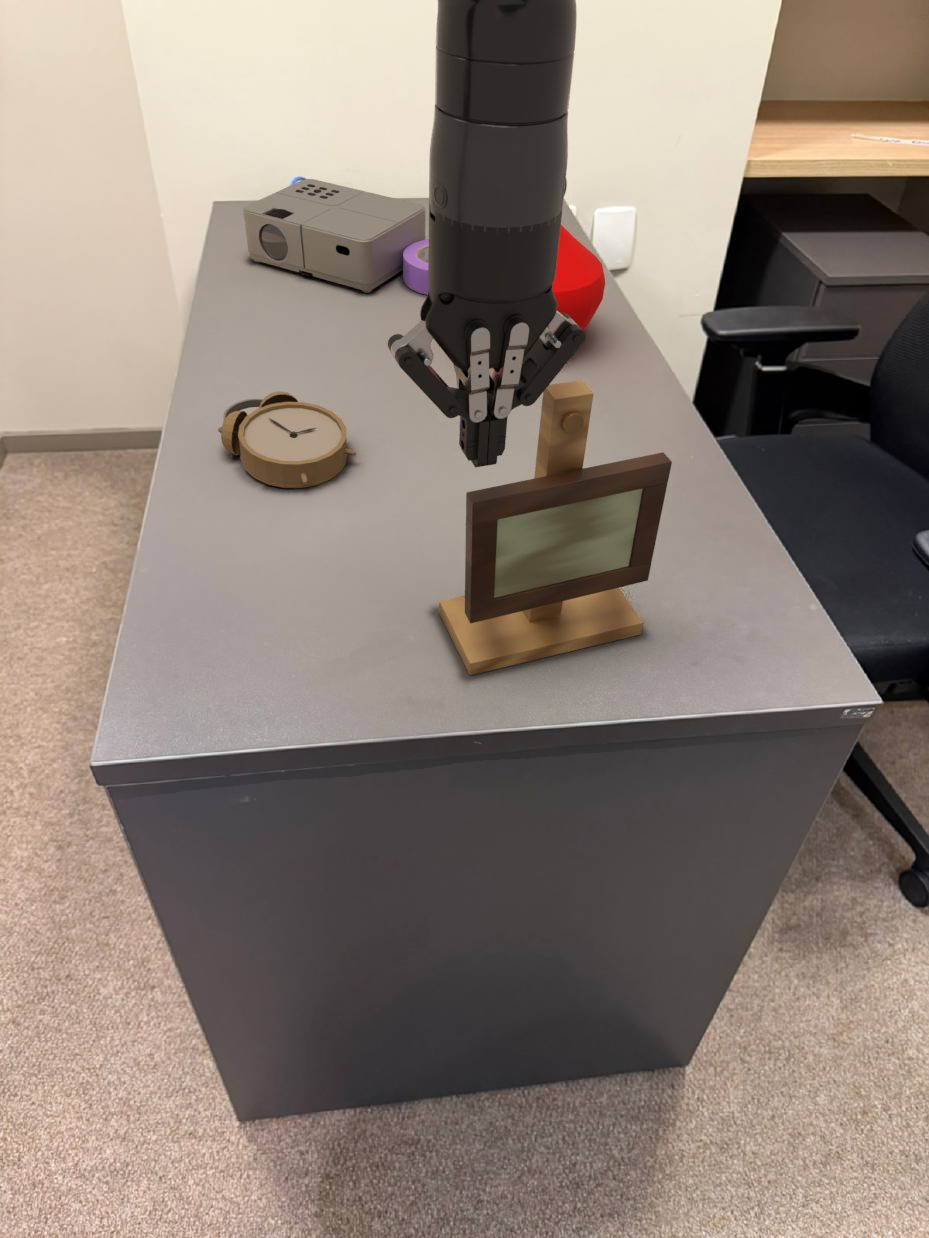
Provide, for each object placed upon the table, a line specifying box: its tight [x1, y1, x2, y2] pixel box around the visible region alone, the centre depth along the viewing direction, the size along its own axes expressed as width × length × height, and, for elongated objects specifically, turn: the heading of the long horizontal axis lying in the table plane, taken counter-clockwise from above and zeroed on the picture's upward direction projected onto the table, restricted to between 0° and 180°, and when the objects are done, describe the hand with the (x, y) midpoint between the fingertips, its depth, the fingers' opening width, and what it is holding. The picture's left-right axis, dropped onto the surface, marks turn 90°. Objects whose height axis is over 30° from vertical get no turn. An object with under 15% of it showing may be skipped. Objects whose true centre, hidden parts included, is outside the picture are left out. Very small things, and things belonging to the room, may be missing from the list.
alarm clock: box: [217, 391, 357, 489], centre depth 96 cm, size 11×5×15 cm
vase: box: [552, 224, 606, 331], centre depth 112 cm, size 18×18×19 cm
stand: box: [438, 379, 644, 676], centre depth 71 cm, size 16×8×23 cm, turn 110°
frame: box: [464, 451, 673, 623], centre depth 70 cm, size 16×1×12 cm, turn 110°
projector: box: [242, 178, 426, 294], centre depth 132 cm, size 17×22×8 cm
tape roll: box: [402, 238, 429, 296], centre depth 130 cm, size 12×12×4 cm
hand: (480, 459), depth 62 cm, fingers closed
